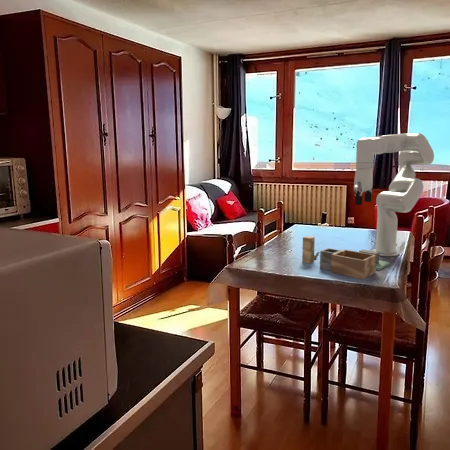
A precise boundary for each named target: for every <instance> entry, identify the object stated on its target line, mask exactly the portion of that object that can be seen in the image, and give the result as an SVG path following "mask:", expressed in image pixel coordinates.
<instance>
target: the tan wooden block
mask: <svg viewBox="0 0 450 450" xmlns="http://www.w3.org/2000/svg"><path fill="white" fill-rule="evenodd" d="M315 238H316V237H315V236H310V235H307V236H303V237H302V248H303V249H302V256H301V258H302V260H301V262H302V263H305V264H312V263H314V262H315V260H314V255H315V242H316V239H315Z"/></svg>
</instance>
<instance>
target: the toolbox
mask: <svg viewBox="0 0 450 450" xmlns="http://www.w3.org/2000/svg"><path fill="white" fill-rule="evenodd" d="M319 252H320V253H319V269H323V270H327V271H330V273H332V274H337V275H341V276H345V277H351V278H355V279H361V280H365V279H367V278H368V277H370V276H373V275H374V274H376V272H377V270H376V255H374V254H368V253H362V252H359V251H357V250H356V251H355V250H349V249H335V248H330V247H327V248H325V249H323V250H319Z"/></svg>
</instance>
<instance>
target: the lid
mask: <svg viewBox="0 0 450 450" xmlns="http://www.w3.org/2000/svg"><path fill="white" fill-rule="evenodd" d="M358 252H362V253H368V254H374V255H376V271H381V270H382V269H384V268H386V267H388V266H389V265H390V264H391V262H389V261H385V260H380V255H379V253H380V252H375V251H373V250H368V249H360V250H359V251H358Z"/></svg>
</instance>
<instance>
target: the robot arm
mask: <svg viewBox="0 0 450 450" xmlns="http://www.w3.org/2000/svg"><path fill="white" fill-rule="evenodd" d="M355 150H356V155H355V157H356V158H355V174H354V181H353V182H354V183H353V191H354V196H355V197H354V204H355V206H356V205H357V206H362V205H363V200H364V202H366V203H371V202H372V193H373V186H374V183H373V181H374V180H373V177H374V176H373V170H374V157H375V156H374V155H382V154H384V153H386V154H388V153H390V154H391V153H392V154H393V153H397V152H399V155H398V167H399V169H398V172H397V173H396V175H395V177H394V178H393V179H392V180H391V183H390V184H389V186H388V190H386V191H385V190H384V191H381V192H380V193H378V194H377V196H376V199H375V202H376V203H375V204H376V209H377V222H376V239H375V240H376V241H375V248H374V249H372V251H375V252H380V253H379V257H397V256H399V254H400V251H398V250H397V247H398V243H397V240H398V239H397V234H398V223H399V222H398V221H399V220H398V215H397V214H396V213H409V212H411V211H412V209H413V208H414V207H415V205H416V204H417V202H418V200H419V199H420V198H421V196H422V194H423V191H424V183H423V181H422V179H420V178H416V172H415V170H414V169H413V167H412V166H428V165H430V164H432V163H433V162H434V160H435V152H434V150H433V148H432V146H431V144H430V142H429V140H428V139H427V137H426V136H425V135H424V134H422V133H420V132H419V133H416V132H413V133H410V132H409V133H396V134H387V135H386V134H385V135H378V136H377V135H376V136H367V137H361V138H359V139H357V141H356V149H355ZM363 193H364V199H363V196H362V195H363Z"/></svg>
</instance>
